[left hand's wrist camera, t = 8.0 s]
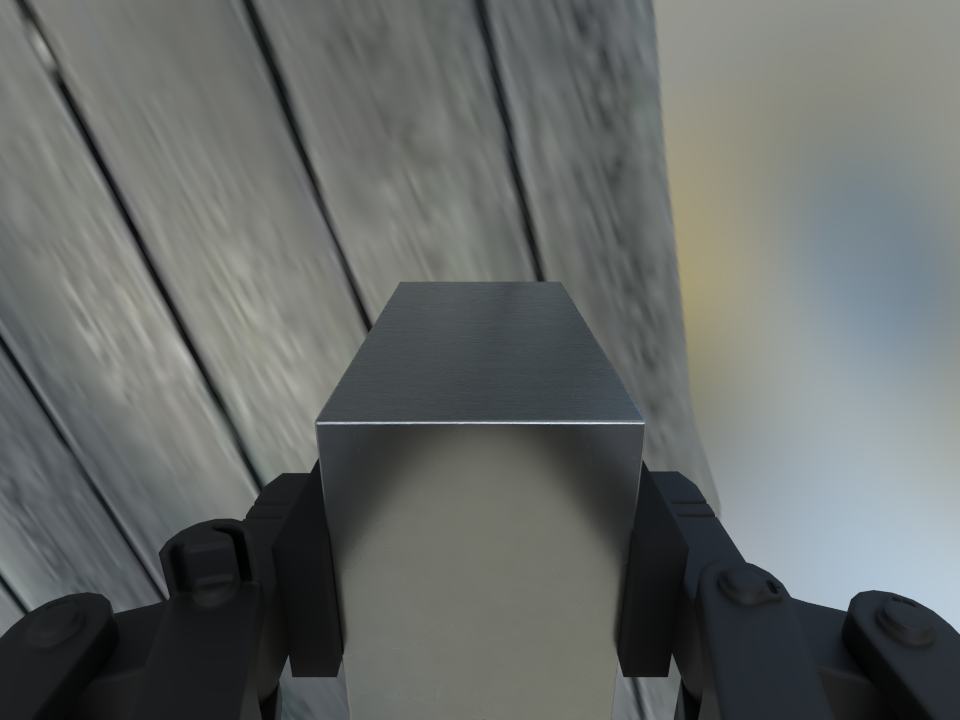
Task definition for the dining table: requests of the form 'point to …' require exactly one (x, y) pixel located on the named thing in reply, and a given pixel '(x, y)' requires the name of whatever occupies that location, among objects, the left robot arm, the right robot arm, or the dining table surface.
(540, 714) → the brick
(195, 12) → the dining table surface
